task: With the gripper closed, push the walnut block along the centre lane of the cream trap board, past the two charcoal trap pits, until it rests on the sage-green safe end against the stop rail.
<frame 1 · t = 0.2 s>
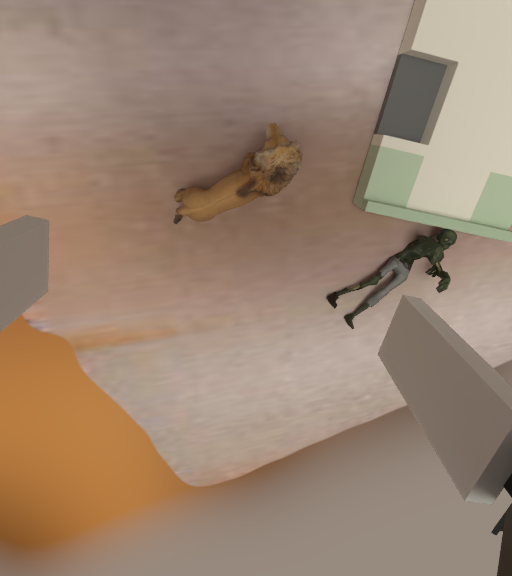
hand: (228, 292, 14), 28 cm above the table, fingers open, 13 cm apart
zombie figurine: (388, 270, 44), on the table
lion figurine: (233, 177, 39), on the table
trap board: (484, 52, 35), on the table
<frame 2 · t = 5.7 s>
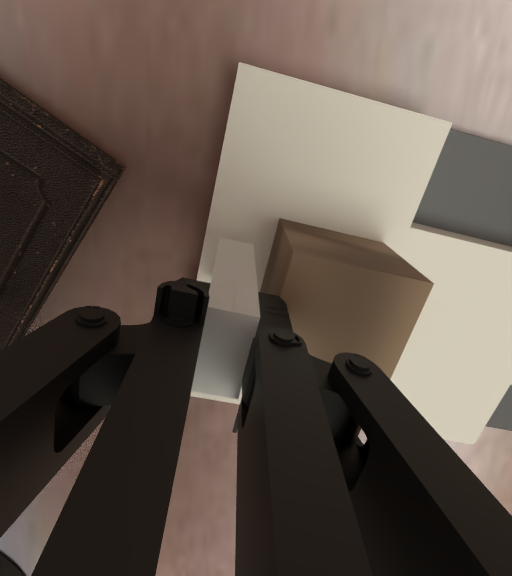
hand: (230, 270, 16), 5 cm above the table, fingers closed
walnut block: (316, 280, 18), point 3 cm above the table, touching gripper, trap board
trap board: (475, 298, 22), on the table
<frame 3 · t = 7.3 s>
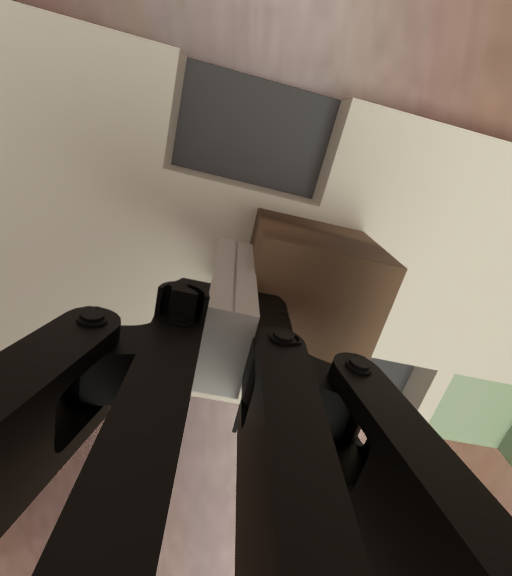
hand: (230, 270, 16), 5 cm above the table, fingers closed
walnut block: (297, 270, 18), point 3 cm above the table, touching gripper
trap board: (290, 258, 21), on the table
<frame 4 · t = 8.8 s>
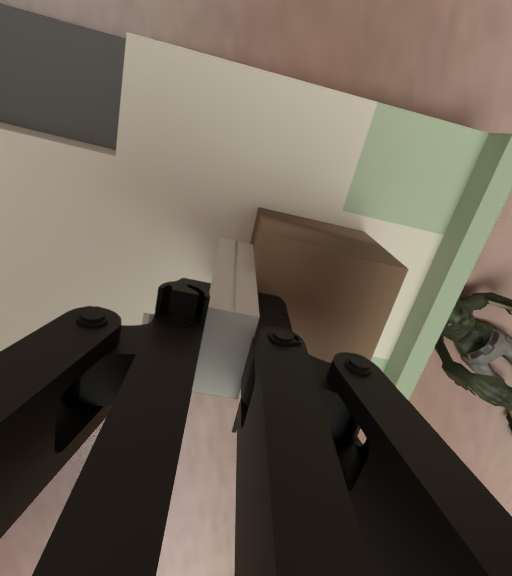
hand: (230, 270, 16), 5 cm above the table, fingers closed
walnut block: (297, 270, 18), point 3 cm above the table, touching gripper, trap board
zombie figurine: (486, 348, 24), on the table
trap board: (127, 220, 20), on the table
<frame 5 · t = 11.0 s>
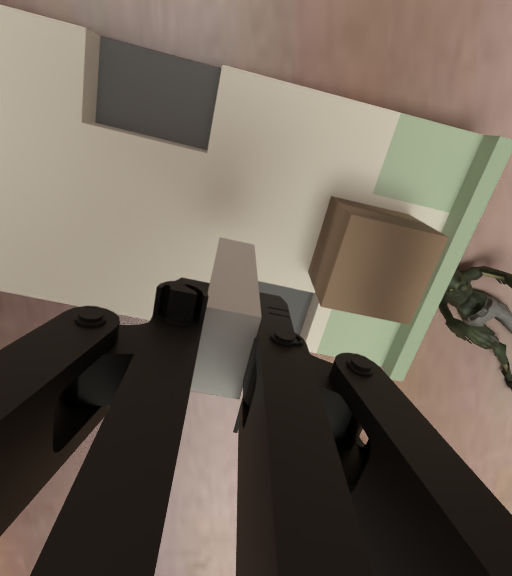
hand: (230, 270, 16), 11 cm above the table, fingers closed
walnut block: (357, 244, 24), point 3 cm above the table, touching trap board
zombie figurine: (483, 313, 30), on the table
trap board: (202, 203, 26), on the table
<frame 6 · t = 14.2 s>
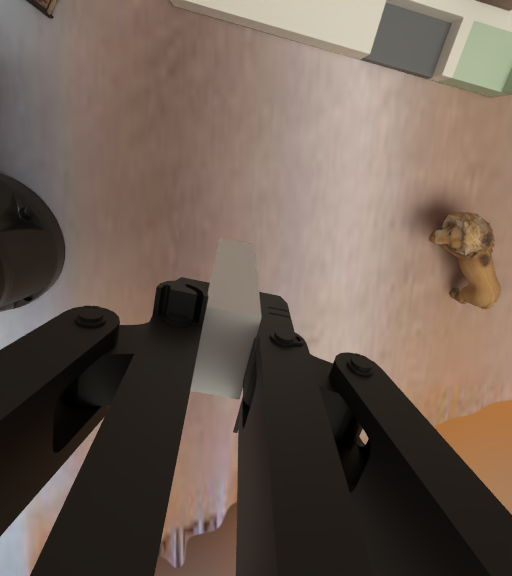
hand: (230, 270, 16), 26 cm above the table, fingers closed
lion figurine: (446, 251, 44), on the table
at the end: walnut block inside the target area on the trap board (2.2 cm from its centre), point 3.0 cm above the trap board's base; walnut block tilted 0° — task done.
